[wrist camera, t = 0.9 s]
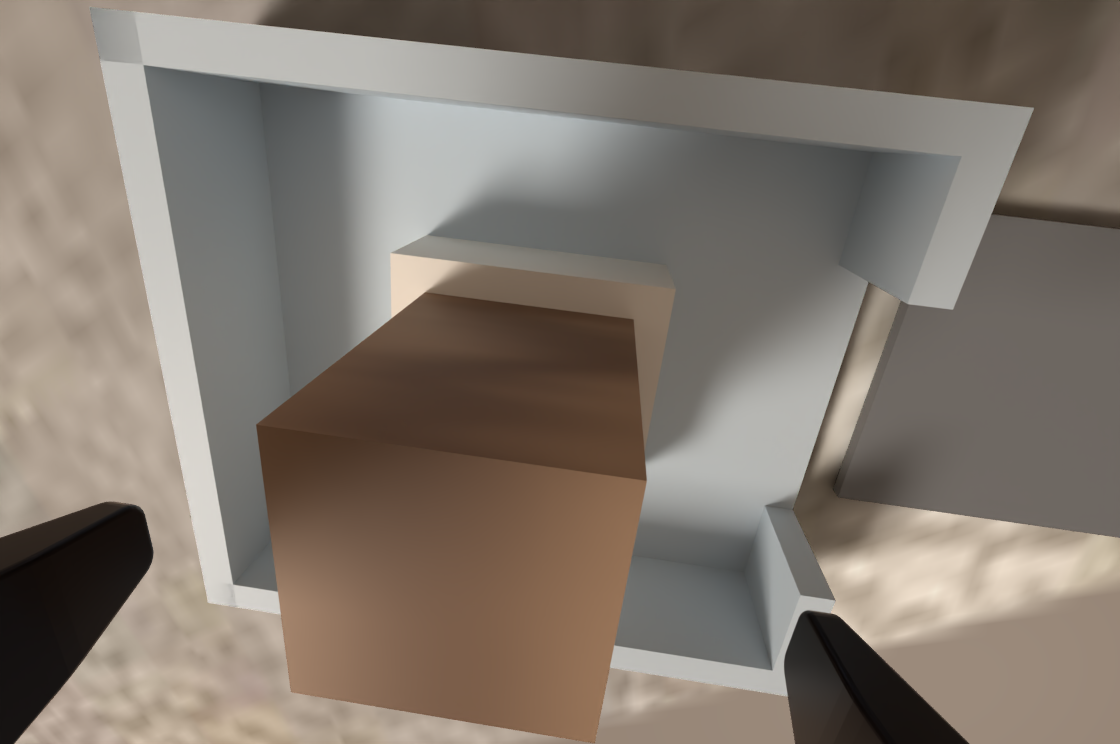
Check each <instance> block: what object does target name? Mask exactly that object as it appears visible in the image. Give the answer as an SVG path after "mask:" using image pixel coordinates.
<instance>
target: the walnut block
mask: <svg viewBox="0 0 1120 744" xmlns="http://www.w3.org/2000/svg"><path fill="white" fill-rule="evenodd" d="M256 429H257V436H258V444H259V452H260V459H261V467H262V475H263V482H264V490H265V497H266V505H267V513H268V520H269V528H270V536H271V543H272V551H273V558H274V566H275V574H276V581H277V589H278V597H279V604H280V612H281V619H282V627H283V635H284V642H285V650H286V658H287V665H288V673H289V680H290V688H291V692H293V693H299V694H305V695H311V696H317V697H323V698H329V699H335V700H341V701H347V702H353V703H359V704H364V705H370V706H376V707H382V708H388V709H394V710H400V711H406V712H412V713H418V714H424V715H430V716H436V717H442V718H447V719H453V720H459V721H465V722H471V723H477V724H483V725H489V726H495V727H501V728H507V729H513V730H519V731H525V732H531V733H536V734H542V735H548V736H554V737H560V738H566V739H572V740H578V741H584V742H590V743H595V739H596V734H597V729H598V724H599V719H600V714H601V709H602V704H603V699H604V694H605V689H606V684H607V679H608V674H609V669H610V664H611V659H612V654H613V649H614V644H615V639H616V634H617V629H618V624H619V619H620V614H621V609H622V604H623V599H624V593H625V588H626V583H627V578H628V573H629V568H630V563H631V558H632V553H633V548H634V543H635V538H636V533H637V528H638V523H639V518H640V513H641V508H642V503H643V498H644V493H645V488H646V483H647V476H646V464H645V451H644V439H643V427H642V415H641V403H640V391H639V378H638V366H637V354H636V342H635V330H634V319H627V318H620V317H612V316H604V315H597V314H589V313H581V312H573V311H566V310H558V309H550V308H543V307H535V306H527V305H519V304H512V303H504V302H496V301H489V300H481V299H473V298H466V297H458V296H450V295H442V294H435V293H427V292H425V293H423V294H422V295H421V296H419V297H418V298H417V299H416V300H414V301H413V302H412V303H411V304H409V305H408V306H407V307H405V308H404V309H403V310H402V311H400V312H399V313H398V314H396V315H395V316H394V317H393V318H391V319H390V320H389V321H388V322H386V323H385V324H384V325H382V326H381V327H380V328H379V329H377V330H376V331H375V332H374V333H372V334H371V335H370V336H368V337H367V338H366V339H365V340H363V341H362V342H361V343H359V344H358V345H357V346H356V347H354V348H353V349H352V350H351V351H349V352H348V353H347V354H345V355H344V356H343V357H342V358H340V359H339V360H338V361H336V362H335V363H334V364H333V365H331V366H330V367H329V368H328V369H326V370H325V371H324V372H322V373H321V374H320V375H319V376H317V377H316V378H315V379H314V380H312V381H311V382H310V383H308V384H307V385H306V386H305V387H303V388H302V389H301V390H299V391H298V392H297V393H296V394H294V395H293V396H292V397H291V398H289V399H288V400H287V401H285V402H284V403H283V404H282V405H280V406H279V407H278V408H277V409H275V410H274V411H273V412H271V413H270V414H269V415H268V416H266V417H265V418H264V419H262V420H261V421H260V422H259V423H257V424H256Z"/></svg>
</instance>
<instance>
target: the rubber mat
mask: <svg viewBox="0 0 1120 744" xmlns="http://www.w3.org/2000/svg"><path fill="white" fill-rule="evenodd" d="M833 490H834V492H835V493H836V495H837V497H839V498H846V499H853V500H860V501H867V502H874V503H881V504H888V505H895V506H902V507H909V508H916V509H923V510H930V511H937V512H944V513H951V514H958V515H965V516H972V517H979V518H986V519H993V520H1000V521H1007V522H1014V523H1021V524H1028V525H1035V526H1042V527H1049V528H1056V529H1063V530H1070V531H1077V532H1084V533H1091V534H1098V535H1105V536H1112V537H1119V538H1120V229H1119V228H1110V227H1102V226H1093V225H1085V224H1076V223H1067V222H1059V221H1050V220H1042V219H1033V218H1024V217H1016V216H1007V215H999V214H991V217H990V219H989V221H988V224H987V226H986V229H985V231H984V234H983V236H982V239H981V241H980V244H979V246H978V249H977V251H976V254H975V256H974V259H973V261H972V264H971V266H970V269H969V271H968V274H967V276H966V278H965V281H964V283H963V286H962V288H961V291H960V293H959V296H958V298H957V301H956V303H955V306H954V308H953V310H951V309H943V308H935V307H927V306H919V305H911V304H907V303H905V302H903V301H901V303H900V305H899V308H898V311H897V314H896V317H895V319H894V322H893V325H892V328H891V330H890V333H889V336H888V339H887V341H886V344H885V347H884V350H883V352H882V355H881V358H880V361H879V363H878V366H877V369H876V372H875V375H874V377H873V380H872V383H871V386H870V388H869V391H868V394H867V397H866V399H865V402H864V405H863V408H862V410H861V413H860V416H859V419H858V421H857V424H856V427H855V430H854V432H853V435H852V438H851V441H850V444H849V446H848V449H847V452H846V455H845V457H844V460H843V463H842V466H841V468H840V471H839V474H838V477H837V479H836V482H835V485H834V488H833Z"/></svg>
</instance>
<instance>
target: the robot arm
mask: <svg viewBox="0 0 1120 744" xmlns="http://www.w3.org/2000/svg"><path fill="white" fill-rule="evenodd" d="M153 553H154V552H153V547H152V542H151V538H150V534H149V530H148V526H147V522H146V518H145V514H144V512H143V510H142V509H141V508H140V507H138V506H136V505H132V504H126V503H119V502H104V503H100V504H97V505H94V506H91V507H88V508H86V509H83V510H80V511H77V512H74V513H71V514H68V515H65V516H62V517H59V518H57V519H54V520H51V521H48V522H45V523H42V524H39V525H36V526H33V527H30V528H27V529H25V530H22V531H19V532H16V533H13V534H10V535H7V536H4V537H1V538H0V744H14V743H15V742H16V741H17V740H18V739H19V738H20V736H21V735H22V734H23V733H24V732H25V730H26V729H27V728H28V727H29V726H30V725H31V723H32V722H33V721H34V720H35V719H36V718H37V716H38V715H39V714H40V713H41V712H42V710H43V709H44V708H45V707H46V706H47V705H48V703H49V702H50V701H51V700H52V699H53V698H54V696H55V695H56V694H57V693H58V692H59V690H60V689H61V688H62V687H63V685H64V684H65V683H66V682H67V681H68V679H69V678H70V677H71V676H72V674H73V673H74V672H75V670H76V669H77V668H78V666H79V665H80V664H81V662H82V661H83V660H84V658H85V657H86V656H87V654H88V653H89V651H90V650H91V649H92V647H93V646H94V644H95V643H96V642H97V640H98V639H99V638H100V636H101V635H102V633H103V632H104V631H105V629H106V628H107V626H108V625H109V624H110V622H111V621H112V620H113V618H114V617H115V615H116V614H117V613H118V611H119V610H120V608H121V607H122V606H123V604H124V603H125V602H126V600H127V599H128V597H129V596H130V595H131V593H132V592H133V590H134V589H135V588H136V586H137V585H138V583H139V582H140V581H141V579H142V578H143V577H144V575H145V574H146V572H147V571H148V569H149V567H150V565H151V563H152V560H153ZM784 675H785V681H786V688H787V694H788V700H789V707H790V714H791V720H792V727H793V733H794V740H795V744H969V743H968V742H967V741H966V740H965V739H964V738H963V737H962V736H961V735H960V734H959V733H958V732H957V731H956V730H955V729H954V728H953V727H952V726H951V725H950V724H949V723H948V722H947V721H946V720H945V719H944V718H943V717H942V716H941V715H940V714H939V713H938V712H937V711H935V710H934V709H933V708H932V707H931V706H930V705H929V704H928V703H927V702H926V701H925V700H924V699H923V698H922V697H921V696H920V695H919V694H918V693H917V692H916V691H915V690H914V689H913V688H912V687H911V686H910V685H909V684H908V683H907V682H906V681H905V680H904V679H903V678H902V677H901V676H900V675H899V674H898V673H897V672H895V670H893V668H892V667H890V666H889V665H888V664H887V663H886V662H885V661H884V660H883V659H882V658H881V657H880V656H879V655H878V654H877V653H876V652H875V651H874V650H873V649H872V648H871V647H870V646H869V645H868V644H867V643H866V642H865V641H864V640H863V639H862V638H861V637H860V636H859V635H858V634H857V633H856V632H855V631H854V630H853V629H852V628H851V627H850V626H849V625H848V624H846V623H845V622H844V621H843V620H842V619H841V618H840V617H838V616H837V615H834V614H831V613H825V612H818V611H812V610H806V611H804V612H802V613H801V614H800V616H799V618H798V621H797V623H796V626H795V629H794V631H793V634H792V637H791V639H790V642H789V645H788V647H787V650H786V653H785V658H784Z"/></svg>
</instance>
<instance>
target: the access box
mask: <svg viewBox="0 0 1120 744" xmlns="http://www.w3.org/2000/svg"><path fill="white" fill-rule="evenodd" d="M90 12H91V17H92V22H93V27H94V32H95V37H96V42H97V47H98V52H99V58H100V63H101V68H102V73H103V78H104V83H105V88H106V93H107V98H108V103H109V108H110V113H111V118H112V123H113V128H114V133H115V138H116V143H117V148H118V153H119V158H120V163H121V168H122V173H123V178H124V183H125V188H126V193H127V198H128V203H129V208H130V213H131V218H132V223H133V228H134V233H135V238H136V243H137V248H138V253H139V258H140V263H141V268H142V273H143V278H144V283H145V288H146V293H147V298H148V303H149V308H150V313H151V318H152V323H153V328H154V333H155V338H156V343H157V348H158V353H159V358H160V363H161V368H162V373H163V378H164V383H165V388H166V393H167V398H168V403H169V408H170V413H171V418H172V423H173V428H174V433H175V439H176V444H177V449H178V454H179V459H180V464H181V469H182V474H183V479H184V484H185V489H186V494H187V499H188V504H189V509H190V514H191V519H192V524H193V529H194V534H195V539H196V544H197V549H198V554H199V559H200V564H201V569H202V574H203V579H204V584H205V589H206V594H207V599H208V603H213V604H219V605H225V606H232V607H238V608H244V609H250V610H256V611H263V612H269V613H275V614H281V612H280V604H279V597H278V589H277V581H276V574H275V566H274V558H273V551H272V543H271V536H270V528H269V520H268V513H267V505H266V497H265V490H264V482H263V475H262V467H261V459H260V452H259V444H258V436H257V429H256V424H257V423H259V422H260V421H261V420H262V419H264V418H265V417H266V416H268V415H269V414H270V413H271V412H273V411H274V410H275V409H277V408H278V407H279V406H280V405H282V404H283V403H284V402H285V401H287V400H288V399H289V398H291V397H292V396H293V395H294V394H296V393H297V392H298V391H299V390H301V389H302V388H303V387H305V386H306V385H307V384H308V383H310V382H311V381H312V380H314V379H315V378H316V377H317V376H319V375H320V374H321V373H322V372H324V371H325V370H326V369H328V368H329V367H330V366H331V365H333V364H334V363H335V362H336V361H338V360H339V359H340V358H342V357H343V356H344V355H345V354H347V353H348V352H349V351H351V350H352V349H353V348H354V347H356V346H357V345H358V344H359V343H361V342H362V341H363V340H365V339H366V338H367V337H368V336H370V335H371V334H372V333H374V332H375V331H376V330H377V329H379V328H380V327H381V326H382V325H384V324H385V323H386V322H388V321H389V320H390V319H391V318H393V317H394V316H395V315H396V314H398V313H399V312H400V311H402V310H403V309H404V308H405V307H407V306H408V305H409V304H411V303H412V302H413V301H414V300H416V299H417V298H418V297H419V296H421V295H422V294H423V293H425V292H427V293H435V294H442V295H450V296H458V297H466V298H473V299H481V300H489V301H496V302H504V303H512V304H519V305H527V306H535V307H543V308H550V309H558V310H566V311H573V312H581V313H589V314H597V315H604V316H612V317H620V318H627V319H634V330H635V342H636V354H637V366H638V378H639V391H640V403H641V415H642V427H643V439H644V451H645V464H646V476H647V483H646V488H645V493H644V498H643V503H642V508H641V513H640V518H639V523H638V528H637V533H636V538H635V543H634V548H633V553H632V558H631V563H630V568H629V573H628V578H627V583H626V588H625V593H624V599H623V604H622V609H621V614H620V619H619V624H618V629H617V634H616V639H615V644H614V649H613V654H612V659H611V664H610V668H615V669H622V670H628V671H634V672H640V673H646V674H652V675H659V676H665V677H671V678H677V679H683V680H690V681H696V682H702V683H708V684H714V685H721V686H727V687H733V688H739V689H745V690H751V691H758V692H764V693H770V694H777V695H783V696H788V694H787V688H786V681H785V675H784V658H785V653H786V650H787V647H788V645H789V642H790V639H791V637H792V634H793V631H794V629H795V626H796V623H797V621H798V618H799V616H800V614H801V613H802V612H804V611H806V610H812V611H818V612H825V613H831V611H832V608H833V606H834V603H835V601H836V600H835V598H834V596H833V594H832V592H831V590H830V588H829V586H828V583H827V581H826V579H825V577H824V575H823V573H822V571H821V569H820V566H819V564H818V562H817V560H816V558H815V556H814V554H813V552H812V549H811V547H810V545H809V543H808V541H807V539H806V537H805V535H804V532H803V530H802V528H801V526H800V524H799V522H798V520H797V518H796V515H795V513H794V511H793V508H794V505H795V502H796V499H797V496H798V493H799V490H800V487H801V484H802V481H803V478H804V475H805V472H806V469H807V466H808V463H809V460H810V457H811V454H812V451H813V448H814V445H815V442H816V439H817V436H818V433H819V430H820V427H821V424H822V421H823V418H824V415H825V412H826V409H827V406H828V403H829V400H830V397H831V394H832V391H833V388H834V385H835V382H836V379H837V376H838V373H839V370H840V367H841V364H842V361H843V358H844V355H845V352H846V349H847V346H848V343H849V340H850V337H851V334H852V331H853V328H854V325H855V322H856V319H857V316H858V313H859V310H860V307H861V304H862V301H863V298H864V295H865V292H866V289H867V286H868V283H869V282H870V283H871V284H873V285H875V286H877V287H878V288H880V289H882V290H884V291H885V292H887V293H889V294H891V295H892V296H894V297H896V298H898V299H899V300H901V301H903V302H905V303H907V304H911V305H919V306H927V307H935V308H943V309H951V310H953V308H954V306H955V303H956V301H957V298H958V296H959V293H960V291H961V288H962V286H963V283H964V281H965V278H966V276H967V274H968V271H969V269H970V266H971V264H972V261H973V259H974V256H975V254H976V251H977V249H978V246H979V244H980V241H981V239H982V236H983V234H984V231H985V229H986V226H987V224H988V221H989V219H990V217H991V214H992V212H993V209H994V207H995V204H996V202H997V199H998V197H999V194H1000V192H1001V189H1002V187H1003V184H1004V182H1005V179H1006V177H1007V174H1008V172H1009V169H1010V167H1011V164H1012V162H1013V159H1014V157H1015V155H1016V152H1017V150H1018V147H1019V145H1020V142H1021V140H1022V137H1023V135H1024V132H1025V130H1026V127H1027V125H1028V122H1029V120H1030V117H1031V115H1032V112H1033V110H1034V108H1032V107H1022V106H1013V105H1004V104H994V103H985V102H976V101H966V100H957V99H947V98H938V97H929V96H919V95H910V94H901V93H891V92H882V91H873V90H863V89H854V88H844V87H835V86H826V85H816V84H807V83H798V82H788V81H779V80H770V79H760V78H751V77H741V76H732V75H723V74H713V73H704V72H695V71H685V70H676V69H667V68H657V67H648V66H639V65H629V64H620V63H610V62H601V61H592V60H582V59H573V58H564V57H554V56H545V55H536V54H526V53H517V52H507V51H498V50H489V49H479V48H470V47H461V46H451V45H442V44H433V43H423V42H414V41H405V40H395V39H386V38H376V37H367V36H358V35H348V34H339V33H330V32H320V31H311V30H302V29H292V28H283V27H273V26H264V25H255V24H245V23H236V22H227V21H217V20H208V19H199V18H189V17H180V16H170V15H161V14H152V13H142V12H133V11H124V10H114V9H105V8H96V7H90Z"/></svg>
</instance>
